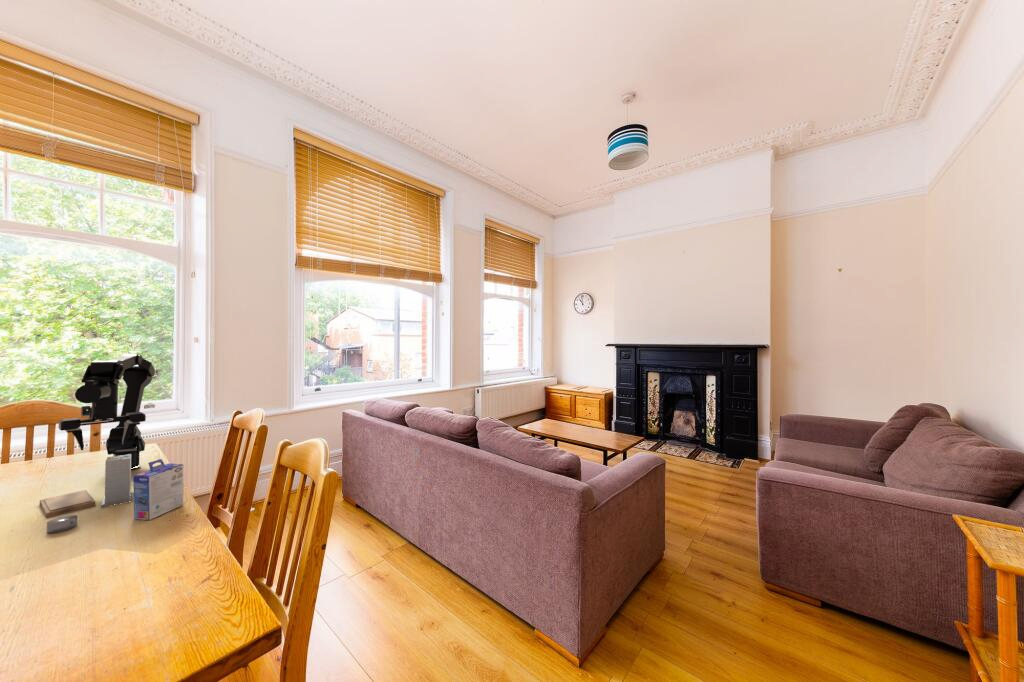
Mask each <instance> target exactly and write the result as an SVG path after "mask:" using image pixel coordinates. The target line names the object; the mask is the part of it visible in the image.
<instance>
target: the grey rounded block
mask: <svg viewBox="0 0 1024 682" xmlns="http://www.w3.org/2000/svg"><path fill="white" fill-rule="evenodd" d="M77 526H78V515H76V514H67V515H62V516H59V517H55V518H52V519H50V520H49V521H47V522H46V534H48V535H55V534H61V533H65V532H68V531H71V530H73V529H75V528H77Z"/></svg>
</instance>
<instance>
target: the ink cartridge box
mask: <svg viewBox="0 0 1024 682" xmlns="http://www.w3.org/2000/svg"><path fill="white" fill-rule="evenodd" d="M157 463H158V464H157ZM159 463H160V464H159ZM155 464H157V465H155ZM153 465H155V466H153ZM148 466H149V470H146V471H143V472H141V473H138V474H137V473H136V474H133V476H132V477H133V483H132V484H133V492H134V498H133V518H134V520H143V521H151V520H153V519H155V518H158V517H159V516H162V515H163V514H167V513H168V512H171V511H172V510H175V509H177V508H179V507H181V506H183V505H184V464H183V463H172V462H171V463H165V462H164V460H163V459H162V458H159V459H157V460H153V461H149V462H148Z"/></svg>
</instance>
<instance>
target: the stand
mask: <svg viewBox="0 0 1024 682" xmlns="http://www.w3.org/2000/svg"><path fill="white" fill-rule="evenodd" d="M96 503H97V502H96V500H95V499H94V498H93V496H92V495H91V494H90V493H89V492H88V490H87V489H86V490H80V491H75V492H71V493H66V494H61V495H56V496H53V497H51V496H50V497H47V498H44V499H40V500H39V506H40V508H41V510H42V512H43V513H44V516H45V518H50V517H55V516H59V515H63V514H67V513H72V512H76V511H79V510H83V509H86V508H87V507H88V508H91V507H95V506H96Z"/></svg>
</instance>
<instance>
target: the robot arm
mask: <svg viewBox="0 0 1024 682" xmlns="http://www.w3.org/2000/svg"><path fill="white" fill-rule="evenodd" d="M155 374H156V368H155V367H154V365H153V363H152V362H150V361H149V360H146V358H143V356H142V355H141V354H135V353H132V354H131V353H129V354H128V353H125V354H122V355H120V356H118V357H115V358H112V359H110V360H92V361H91V362H90V364H88V365H87V367H86V370H85V372H84V374H83V376H82V379H81V383H83V385H81V386H80V387H78V388H77V389H76V390H75V393H74V397H75V399H76V400H77V401H78V402H80V403H83V404H91V405H83V406H81V409H80V416H81V417H83V418H84V417H89V418H87V419H80V417H70V418H61V419H60V420H59V421H58V429H59V430H60V431H65V432H66V433H68V434H69V433H71V434H72V435H73V436H74V438H75V440H76V443H77V444H78V447H79V449H80V451H84V446H85V445H84V436H83V429H82V428H81V426H82V427H83V426H91V425H101V424H109V423H118V425H117V426H115V427H112V428H111V429H110V430H109V435H108V437H107V439H106V441H105V447H106V452H107V453H106V454H107V455H109V456H110V455H113V456H120V455H127V454H131V468H133V467H135V466H138V465H140V452H143V451H145V450H146V449H145V448H146V443H145V441H144V439H143V437H142V432H141V430H140V428H138V425H141V422H146V419H147V416H146V413H144V412H141V405H142V400H143V395H144V391H145V388H147V386H148V385H150V384H151V382H152V379H153V377H155ZM121 379H122V380H123V382H124V383H125V384H126V391H125V394H124V398H123V404H122V408H121V411H120V412H121V413H120V415H118V403H119V401H118V400H119V398H118V397H119V384H120V380H121Z"/></svg>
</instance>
